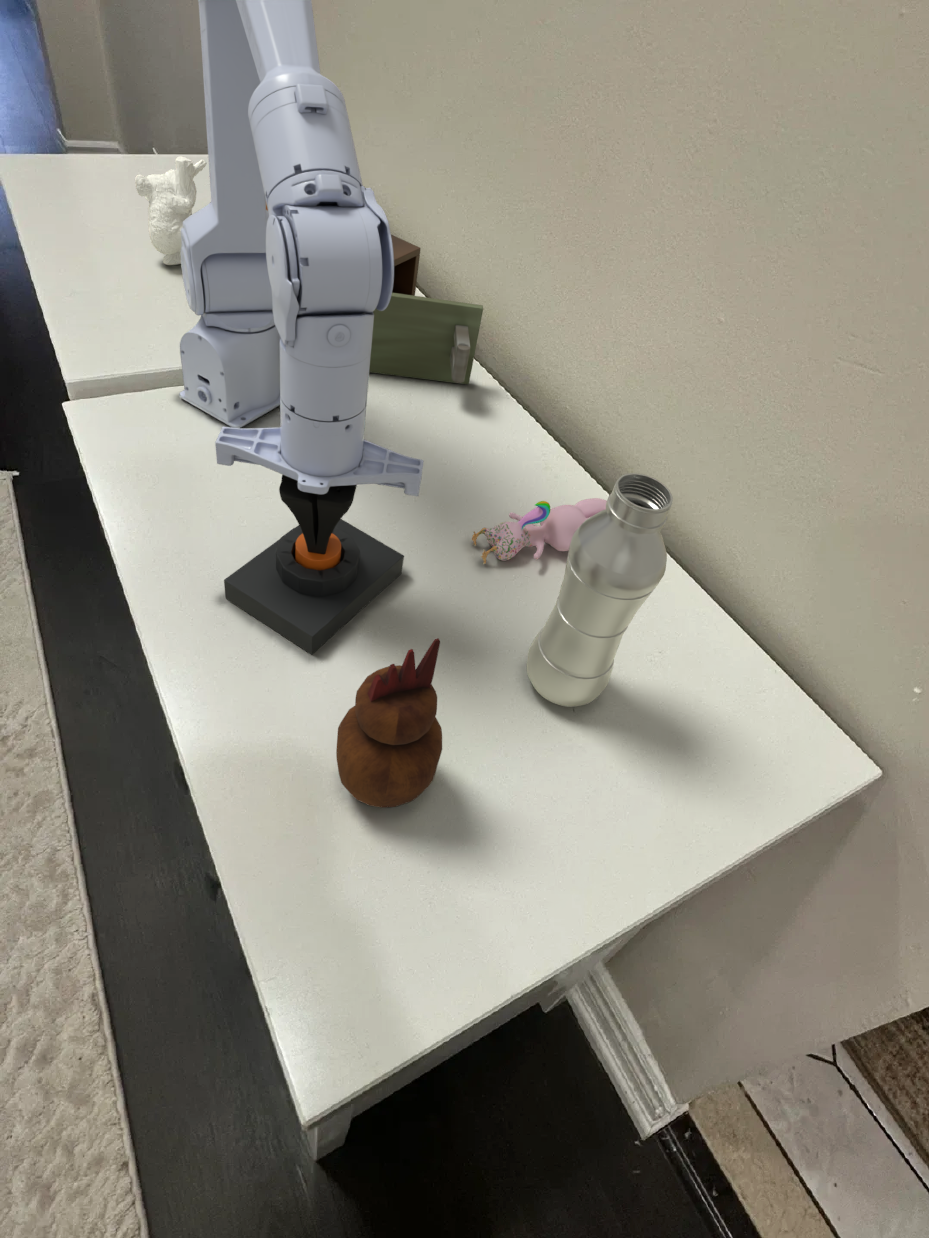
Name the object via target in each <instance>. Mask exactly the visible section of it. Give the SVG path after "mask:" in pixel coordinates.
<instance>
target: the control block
mask: <svg viewBox="0 0 929 1238" xmlns="http://www.w3.org/2000/svg"><path fill="white" fill-rule="evenodd" d="M301 534H303V533H302V530H301V528H300V526H299V524H298V525H297V526H295V527H293V528H292V529H290V530H289V531H288V532H286V533H285V534H283V536H281V537H280V538H279V539H278V540H277V541H275V542H273V543H272V544H271V545H269V546H268V547H266V548H265V549H264V550H263V551H261V552H260V553H258V554H257V555H255V556H254V557H253V558H251V559H250V560H249V561H247V562H246V563H245V564H244V565H242V566H241V567H239V568H238V569H236V570H235V571H234V572H233V573H231V574H229V576H227V577H226V578H224V579H223V585H224V586H223V587H224V596H225V599H226V600H227V601H229V602H230V603H231V604H233V605H235V606H236V607H238V608H239V609H241V610H242V611H244V612H245V613H247V614H248V615H250V616H252V617H253V618H255V619H256V620H258V621H259V622H261V623H262V624H264V625H265V626H266V627H268V628H270V629H272V630H273V631H275V632H276V633H277V634H279V635H280V636H282V637H284V638H285V639H287V640H288V641H290V642H291V643H293V644H294V645H296V646H298V647H299V648H301V649H302V650H303V651H305V652H307V653H308V654H310V655H313V654H315V653H316V652H317V651H318V650H319V649H320V648H321V647H322V646H323V645H324V644H325V643H327V641H329V640H330V639H331V638H332V637H333V636H334V635H335V634H337V633H338V632H339V631H340V630H341V629H342V628H344V626H345V625H347V623H349V622H350V621H351V620H352V619H353V618H354V617H355V616H356V615H357V614H359V613H360V612H361V611H362V610H363V609H364V608H366V606H367V605H368V604H370V602H372V601H373V600H374V599H375V598H376V597H378V595H380V594H381V593H382V592H383V591H384V590H385V589H386V588H387V587H388V586H389V585H391V584H392V583H393V582H394V581H395V580H396V579H398V577H399V576H401V574H402V571H403V566H404V559H405V555H403V554H402V553H401V552H399V551H397V550H395V549H393V548H392V547H390V546H388V545H387V544H385V543H383V542H381V540H378V539H377V538H375V537H373V536H372V535H369V534H368V533H366V532H365V531H363V530H361V529H359V528H358V527H356V526H354V525H353V524H350V523H349V522H347V521H346V520H344V519H342V518H341V519H340V520H339V522H338V523H337V525H336V526H335V528H334V530H333V531H332V534H334V535H335V536H336V537H337V538H338V539H339V540H340V542H341V559H340V563H339V564H338V565H337V566H335V567H334V568H329V569H325V570H314V569H308V568H305V567H303V566H302V565H300V564H299V563H297V562H296V561H295V548H296V540H297V538H298V537H299V536H300V535H301Z"/></svg>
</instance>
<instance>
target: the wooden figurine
mask: <svg viewBox="0 0 929 1238" xmlns="http://www.w3.org/2000/svg"><path fill="white" fill-rule="evenodd" d="M440 645H441V640H440V638H434V640H433V641H432V643H431V644H430V646H429V647H428V649H427V650H426V652H425V653H424V655H423V657H422V659H421V660H420V662H419V663H418V665H417V667H416V659H415V658H416V657H415V656H416V655H415V650H414V649H413V648H410V649H408V650H407V653H406V655H405V657H404V660H403V663H402V664H401V665H400V664H399V665H396V664H395V663H391V664H390V665H389V666H385V667H382V668H379V669H377V670H375V671H374V672H372V673H370V674H369V675H367V677H365V679H364V681H362V682H361V685H360V686H359V687H358V689H357V690H356V693H355V702H354V706H352V707H350V708H349V709H348V710H347V711H346V713H345V715H344V717H343V718H342V720H340V723H339V725H338V727H337V737H336V748H335V749H336V752H335V754H336V756H335V757H336V764H337V771H338V775H339V779H340V782H341V785H343V787H344V788H345V789H346V790H347V792H348V793H349V794H350V795H351V796H352V797H353V798H354V799H355V800H357V801H358V802H361V803H363V804H365V805H367V806H370V807H375V808H382V809H384V808H385V809H386V808H396V807H400V806H402V805H405V804H408V803H411V802H413V801H414V800H416V799H418V797H420V795H421V794H423V793H424V792H425V791H426V790H427V789H428V788H429V786H430V785H431V784H432V783H433V781H434V779H435V775H436V773H437V769H438V765H439V762H440V759H441V755H442V751H443V731H442V726H441V724H440V722H439V721H438V718H437V711H438V694H437V691H436V689H435V687H434V686H433V684H432V683H433V679H434V675H435V670H436V665H437V660H438V655H439V650H440Z"/></svg>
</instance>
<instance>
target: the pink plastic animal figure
mask: <svg viewBox="0 0 929 1238" xmlns="http://www.w3.org/2000/svg"><path fill="white" fill-rule="evenodd" d="M606 502H607V500H606V499H603V498H600V497H594V498H593V497H592V498H586V499H582V500H579V501H577V502H576V503H575V504H574V505H573V504H562V505H558V506H554V507H552V508H551V504H550V503H549V502H548V501H547V500H541V501H538V502H536V503H535V504H534V507H535V506H536V507H535V508H533V509H531V510H530V511H529V512H526V514H524V515H523V516H522V515H520V514H517V513H515V512H509V513H508V517H509V518H510V519H513V520H516V522H515V521H503V522H500V523H499V524H497V525H495V526H493V527H490V528H487V527H482V528H481V530H479V531H477V532H476V531H472V532H473V534H472V536H471V541H472V542H473V543H472V546H474V547H476V546H477V540H478V537H479V536H480V535H484V536H485V538H486V541H487V544H488V545H490V546H491V548H490V549H488V550H486V549H482V553H481V556H480V558H481V559H482V561H483V562H482V565H486V564H487V557H488V555H489V554H490V553H492V552H493V553H494V556H495V558H496V559H498V560H500V561H502V562H503V561H505V562H506V561H509V560H511V559H513V558H514V557H516V555H517V554H519V552H520V551H521V550H522V549H523V548H525V547H527V548H532V547H536V552H535V553H533V559H534V560H540V558H541V556H542V554H543V552H544V547H545V544H548V545H549V546H550V547H551V548H554V549H555V550H557V551H558V552H569V547H570V543H571V540H572V537H573V535H574V533H575V531H576V530H577V529H578V528H579V527H580V526H581V525H582V523H583V522H584V521H585V520H587V519H588V518H590V517H592V516H593V515H595V514H597V513H598V512H600V511H603V510H605V509H606ZM539 523H540V526H539V525H535V524H539Z"/></svg>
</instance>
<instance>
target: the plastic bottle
mask: <svg viewBox="0 0 929 1238" xmlns="http://www.w3.org/2000/svg"><path fill="white" fill-rule="evenodd" d="M606 499H607V500H606V501H607V502H606V509H605V510H603V511H600V512H598V513H597V514H595V515H593V516H592V517H590V518H588V519H587V520H585V521H584V522H583V523H582V525H581V526H580V527H579V528H578V529H577V530H576V531H575V533H574V535H573V537H572V540H571V543H570V547H569V550H568V551H567V552H568V553H567V557H566V563H565V570H564V574H563V579H562V582H561V585H560V589H559V592H558V596H557V599H556V602H555V605H554V607H553V608H552V610H551V612H550V614H549V616H548V618H547V620H546V621H545V624H544V625H543V627H542V628H541V629H540V631H539V632H538V633H537V634H536V636H535V637H534V639H533V641H532V642H531V644H530V646H529V648H528V652H527V659H526V674H527V677H528V679H529V681H530V683H531V685H532V686H533V688H534V689H535V690H536V692H537V693H538V694H539V695H540V696H541V697H543V699H544V700H547V701H548V702H549V703H552V704H554V705H558V706H561V707H566V708H567V707H568V708H569V707H572V708H573V707H582V706H585V705H588V704H590V703H592V702H593V701H594V700H596V699H597V698H598V697H600V695H601V694H602V693H603V691H604V690H605V689H606V688H607V686H608V685H609V682H610V680H611V676H612V672H613V669H614V663H615V657H616V655H617V653H618V650H619V647H620V644H621V641H622V639H623V636H624V634H625V633H626V631H627V629H628V628H629V626H630V624H631V622H632V621H633V619H634V617H636V614H637V613H638V611H639V610H640V608H641V607H642V606H643V604H644V603H646V601H647V600H648V598H649V596H650V595H651V594H652V593H653V592H654V590H655V589H656V588H657V587H658V586H659V584H660V582H661V581H662V579H663V577H664V576H665V573H666V569H667V560H668V558H667V557H668V553H667V549H666V546H665V542H664V541H665V540H664V538H663V535H662V532H661V530H663V528H664V527H665V526H666V523H667V520H668V514H669V512H670V510H671V507H672V505H673V499H674V498H673V493H672V492H671V491H670V489H669V488H668V487H667V486H666V485H665V484H664V483H663V482H661V481H660V480H659V479H657V478H654V477H652V476H650V475H648V474H643V473H639V472H638V473H637V472H628V473H624V474H621V476H619V477H618V478H617V480H616V481H615V483H614V485H613V488H612V491H611V493H610V494H609V495H608V497H607V498H606Z"/></svg>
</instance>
